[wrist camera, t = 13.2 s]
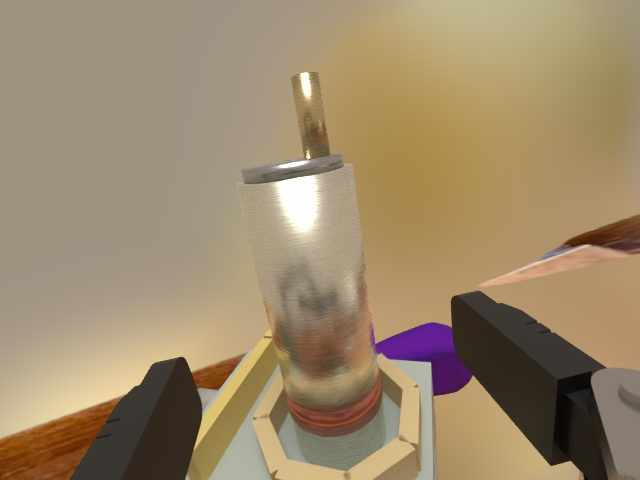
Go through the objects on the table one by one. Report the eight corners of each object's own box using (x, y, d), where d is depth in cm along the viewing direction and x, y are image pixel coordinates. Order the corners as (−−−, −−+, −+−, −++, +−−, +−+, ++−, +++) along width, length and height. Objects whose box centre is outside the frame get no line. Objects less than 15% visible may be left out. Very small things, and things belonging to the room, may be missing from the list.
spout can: (281, 463, 18) (181, 90, 12) (313, 388, 23) (253, 100, 17) (380, 484, 16) (317, 52, 10) (391, 398, 21) (353, 76, 15)
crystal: (320, 345, 31) (468, 310, 30) (333, 382, 33) (474, 350, 32) (320, 380, 27) (494, 340, 26) (335, 421, 28) (500, 385, 27)
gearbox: (135, 528, 22) (87, 439, 19) (231, 393, 32) (208, 324, 30) (441, 640, 15) (430, 523, 12) (435, 422, 25) (428, 334, 23)
